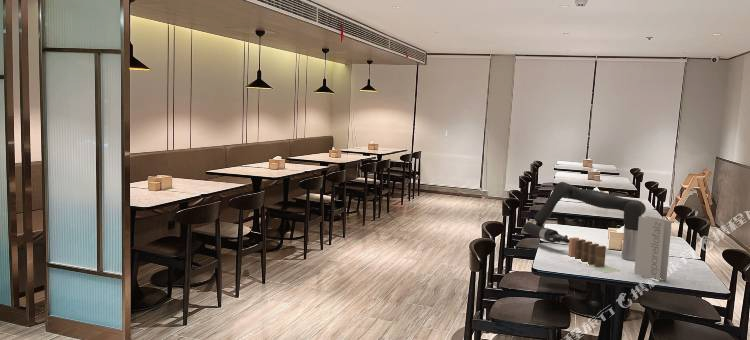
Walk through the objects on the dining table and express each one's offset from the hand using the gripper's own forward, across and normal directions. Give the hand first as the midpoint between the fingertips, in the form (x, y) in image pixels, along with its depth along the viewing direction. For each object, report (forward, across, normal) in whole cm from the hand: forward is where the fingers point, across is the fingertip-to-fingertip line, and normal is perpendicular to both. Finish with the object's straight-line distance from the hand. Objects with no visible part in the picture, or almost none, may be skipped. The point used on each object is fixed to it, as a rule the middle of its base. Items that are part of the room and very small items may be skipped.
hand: (568, 241), depth 321 cm
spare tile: (+4, 0, +8) cm, 9 cm away
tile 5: (+24, 0, +8) cm, 25 cm away
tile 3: (+14, 0, +8) cm, 16 cm away
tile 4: (+19, 0, +8) cm, 21 cm away
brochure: (+46, +12, +9) cm, 48 cm away
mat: (+16, 0, +8) cm, 18 cm away
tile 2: (+9, 0, +8) cm, 12 cm away
